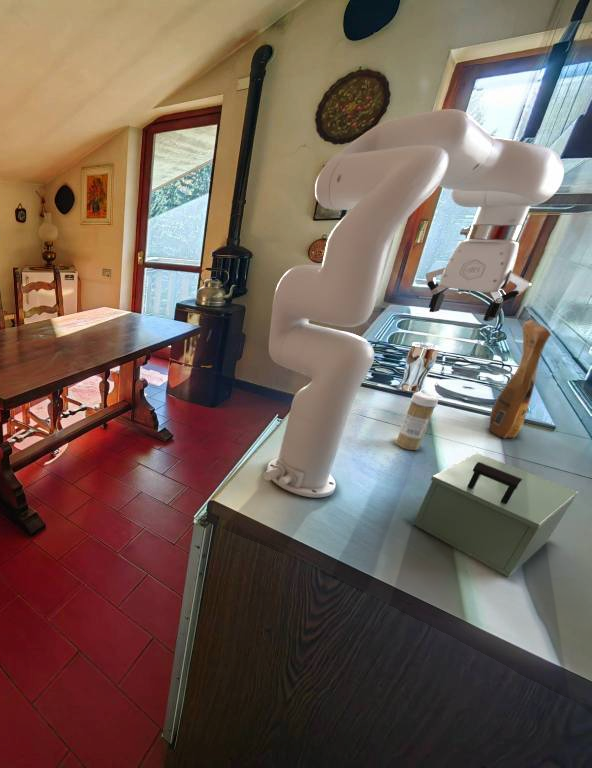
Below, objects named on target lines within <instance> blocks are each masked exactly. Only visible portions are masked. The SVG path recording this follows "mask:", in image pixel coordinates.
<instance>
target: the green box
mask: <svg viewBox="0 0 592 768" xmlns="http://www.w3.org/2000/svg"><path fill="white" fill-rule="evenodd" d="M575 498H576V496H575V497H574V498H573V499H571V500H570V501H569V502H568V503H567V504H566V505H564V506H563V507H562V508H561V509H560V510H559V511H557V512H556V513H555V514H554V515H553V516H552V517H550V518H549V519H548V520H547V521H546V522H544V523H543V524H542V525H541V526H540V527H539V528H537V529H536V528H534V527H531V526H529V525H527V524H525V523H523V522H521V521H518V520H516V519H514V518H512V517H510V516H508V515H505V514H503V513H501V512H499V511H497V510H495V509H493V508H490V507H488V506H486V505H484V504H482V503H480V502H477V501H475V500H473V499H471V498H469V497H467V496H464V495H462V494H460V493H458V492H456V491H454V490H451V489H449V488H447V487H445V486H443V485H441V484H438V483H436V482H434V481H432V480H431V482H430V485H429V487H428V490H427V491H426V494H425V495H424V498H423V501H422V503H421V505H420V506H419V509H418V512H417V513H416V516H415V518H414V521H413V522H412V525H414V526H416V527H417V528H419V529H421V530H423V531H424V532H426V533H428V534H430V535H431V536H433V537H435V538H437V539H438V540H439V541H440V540H441V541H442V542H444V543H446V544H448V545H450V546H451V547H453V548H455V549H457V550H458V551H460V552H462V553H464V554H466V555H467V556H469V557H471V558H473V559H475V560H476V561H478V562H479V563H481V564H483V565H485V566H487V567H489V568H490V569H492V570H494V571H496V572H498V573H500V574H502V575H503V576H505V577H507V578H510V577H511V576H512V575H513V574H514V573H515V572H516V571H518V569H519V568H521V566H523V565H524V564H525V563H526V562H527V561H528V560H529V559H530V558H531V557H532V556H533V555H534V554H536V553H537V552H538V551H539V550H540V549H541V548H542V547H543V546H544V545H545V544H547V543H548V540H549V539H550V537H551V536H552V534H553V533H554V531H555V529H556V528H557V526H558V524H559V523H560V521H561V520H562V518H563V517H564V515H565V514H566V512H567V510H569V508H570V506H571V504H572V503H573V501H574V500H575Z"/></svg>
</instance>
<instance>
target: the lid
mask: <svg viewBox="0 0 592 768" xmlns="http://www.w3.org/2000/svg"><path fill="white" fill-rule="evenodd" d="M430 481H431V482H432V481H434V482H436V483H438V484H441V485H443V486H445V487H447V488H449V489H451V490H454V491H456V492H458V493H460V494H462V495H464V496H467V497H469V498H471V499H473V500H475V501H477V502H480V503H482V504H484V505H486V506H488V507H490V508H493V509H495V510H497V511H499V512H501V513H503V514H505V515H508V516H510V517H512V518H514V519H516V520H518V521H521V522H523V523H525V524H527V525H529V526H531V527H534V528H536V529H537V528H539V527H540V526H541V525H542V524H543V523H544V522H546V521H547V520H548V519H549V518H550V517H552V516H553V515H554V514H555V513H556V512H557V511H559V510H560V509H561V508H562V507H563V506H564V505H566V504H567V503H568V502H569V501H570V500H571V499H573V498H574V497H575V498H576V496H577V495H578V493H579V491H577V490H575V489H572V488H570V487H567V486H565V485H561V484H559V483H557V482H553V481H552V480H549V479H546V478H543V477H540V476H538V475H536V474H533V473H530V472H527V471H525V470H523V469H520V468H518V467H515V466H512V465H510V464H507V463H504V462H502V461H499V460H497V459H495V458H491V457H488V456H486V455H483V454H481V453H479V452H474V453H473V454H471V455H469V456H468V457H465V458H464V459H462V460H460V461H458V462H456V463H455V464H452V465H451V466H448V467H447V468H445V469H443V470H442V471H439V472H437V473H436V474H434V475H432V476H431V478H430ZM575 498H574V499H575Z"/></svg>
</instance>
